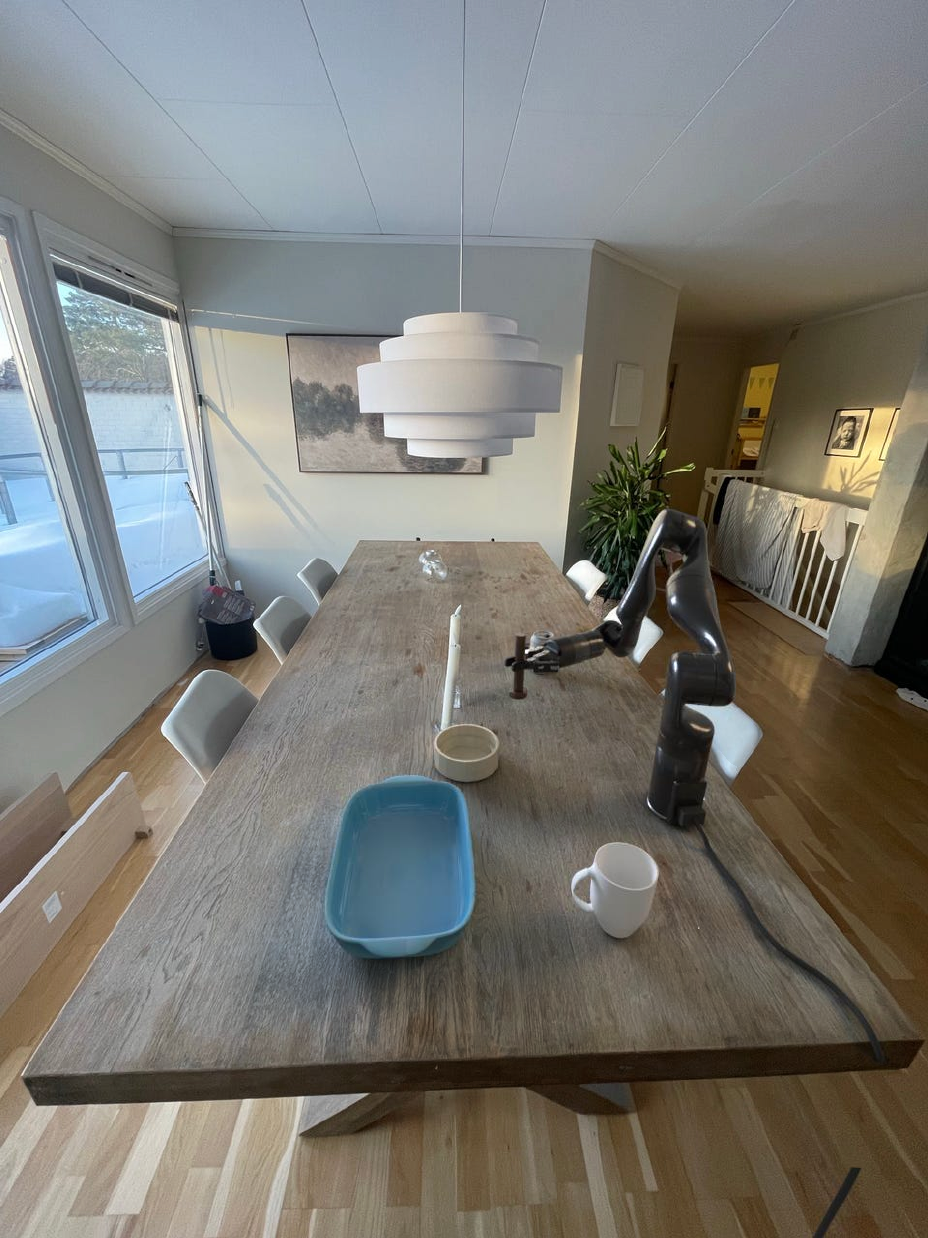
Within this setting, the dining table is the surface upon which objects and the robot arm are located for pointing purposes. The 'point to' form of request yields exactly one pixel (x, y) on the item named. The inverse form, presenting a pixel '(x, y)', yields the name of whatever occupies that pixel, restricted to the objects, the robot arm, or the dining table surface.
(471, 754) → the bowl
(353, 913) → the casserole dish
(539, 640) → the can
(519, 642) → the stirring stick
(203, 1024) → the dining table surface
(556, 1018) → the dining table surface
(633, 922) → the mug
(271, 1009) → the dining table surface
